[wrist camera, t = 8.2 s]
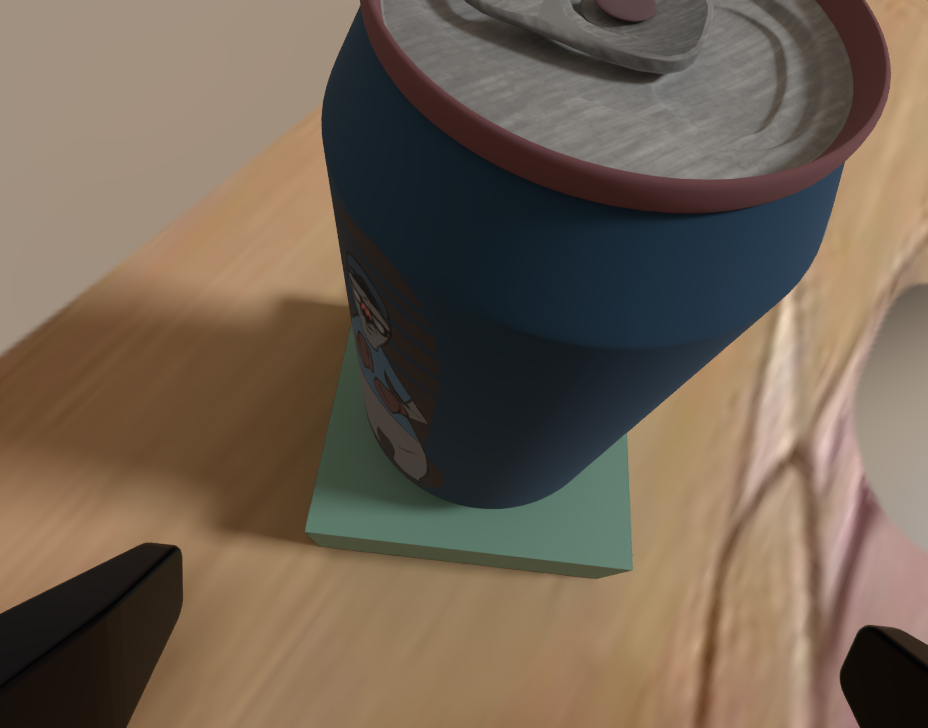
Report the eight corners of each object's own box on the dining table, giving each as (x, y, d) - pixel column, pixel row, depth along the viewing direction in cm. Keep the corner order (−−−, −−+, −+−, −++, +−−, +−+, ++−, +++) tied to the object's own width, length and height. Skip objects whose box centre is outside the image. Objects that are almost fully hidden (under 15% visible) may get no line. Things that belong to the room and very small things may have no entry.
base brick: (596, 578, 17) (632, 570, 15) (320, 546, 17) (304, 531, 14) (593, 313, 22) (620, 270, 19) (375, 282, 21) (371, 233, 19)
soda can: (614, 353, 18) (942, -65, 7) (554, 558, 15) (976, 374, 4) (422, 278, 18) (452, -220, 7) (324, 460, 15) (137, 60, 4)
